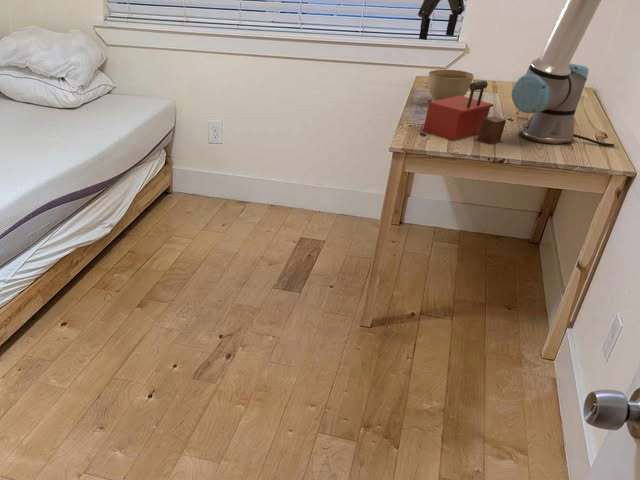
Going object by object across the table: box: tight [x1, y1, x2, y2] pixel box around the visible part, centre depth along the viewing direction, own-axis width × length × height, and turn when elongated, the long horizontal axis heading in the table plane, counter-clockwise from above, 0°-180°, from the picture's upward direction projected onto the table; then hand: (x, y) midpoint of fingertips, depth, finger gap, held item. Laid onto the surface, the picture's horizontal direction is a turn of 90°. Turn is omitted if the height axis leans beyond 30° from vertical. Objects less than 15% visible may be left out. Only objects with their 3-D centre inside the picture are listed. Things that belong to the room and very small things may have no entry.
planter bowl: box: [427, 69, 475, 101], centre depth 260 cm, size 16×16×11 cm
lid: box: [428, 80, 494, 113], centre depth 225 cm, size 14×16×8 cm
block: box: [477, 115, 507, 145], centre depth 222 cm, size 5×5×7 cm
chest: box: [422, 103, 491, 141], centre depth 230 cm, size 13×16×9 cm
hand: (436, 37), depth 233 cm, fingers open, 13 cm apart
